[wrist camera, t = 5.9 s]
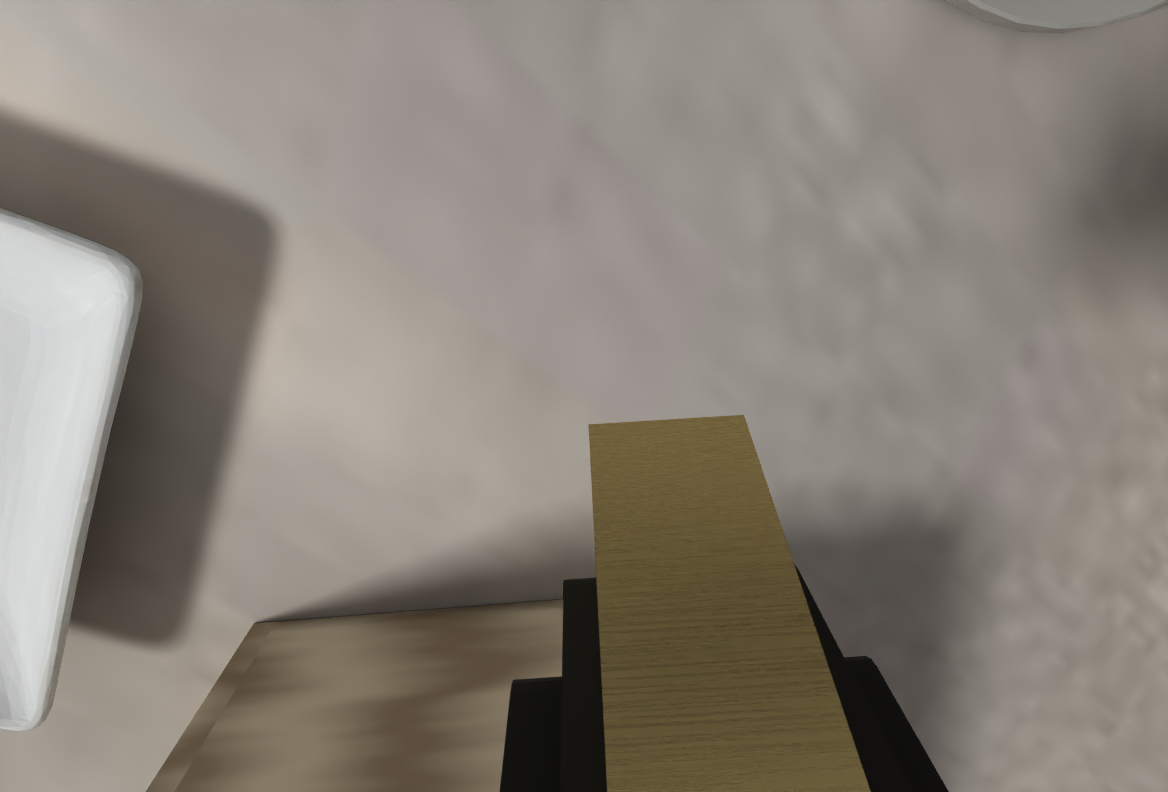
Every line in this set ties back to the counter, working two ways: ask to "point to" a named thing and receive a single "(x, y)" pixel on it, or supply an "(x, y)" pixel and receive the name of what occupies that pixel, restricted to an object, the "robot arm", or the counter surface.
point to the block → (706, 621)
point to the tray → (52, 437)
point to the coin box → (367, 702)
